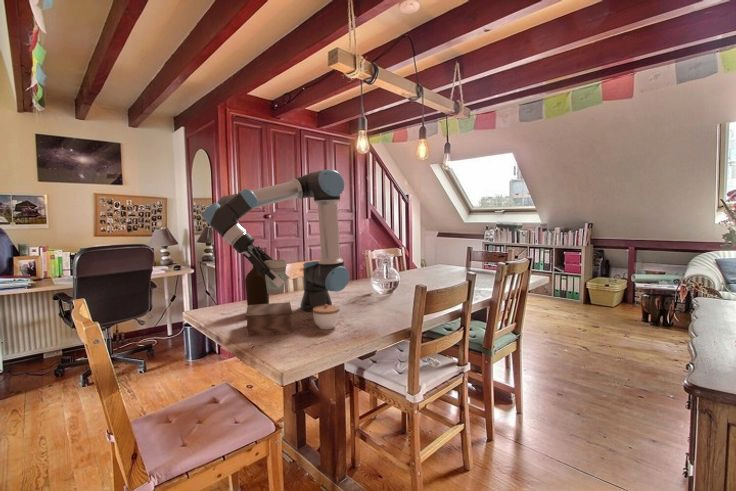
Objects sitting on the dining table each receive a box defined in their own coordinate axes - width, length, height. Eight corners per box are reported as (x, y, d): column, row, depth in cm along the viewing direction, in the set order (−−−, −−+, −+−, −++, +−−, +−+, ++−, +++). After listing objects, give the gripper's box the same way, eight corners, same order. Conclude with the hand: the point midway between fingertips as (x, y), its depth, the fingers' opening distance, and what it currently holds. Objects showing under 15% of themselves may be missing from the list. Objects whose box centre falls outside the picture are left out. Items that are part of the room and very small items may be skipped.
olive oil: (253, 317, 159) (251, 261, 157) (242, 312, 166) (240, 259, 164) (274, 312, 166) (273, 259, 164) (262, 308, 174) (260, 257, 172)
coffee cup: (260, 295, 128) (259, 262, 127) (267, 290, 137) (266, 259, 135) (284, 295, 128) (283, 262, 127) (289, 290, 136) (289, 259, 135)
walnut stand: (290, 320, 153) (289, 302, 152) (292, 332, 137) (292, 312, 136) (248, 324, 148) (247, 305, 148) (246, 337, 132) (245, 316, 131)
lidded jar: (307, 327, 143) (306, 304, 142) (326, 321, 151) (326, 299, 150) (326, 333, 136) (325, 309, 135) (345, 326, 144) (345, 303, 143)
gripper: (242, 243, 141) (283, 283, 143) (221, 249, 120) (269, 296, 122) (255, 230, 141) (296, 270, 142) (236, 233, 119) (285, 280, 121)
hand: (284, 282), depth 132 cm, fingers closed on coffee cup, 8 cm apart
